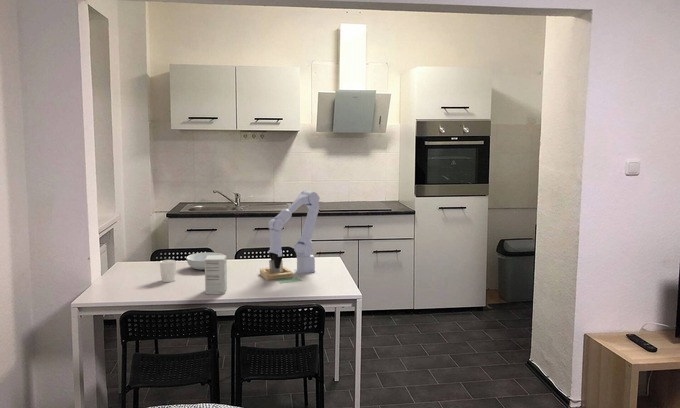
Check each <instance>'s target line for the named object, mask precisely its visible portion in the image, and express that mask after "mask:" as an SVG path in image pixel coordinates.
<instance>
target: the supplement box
mask: <svg viewBox="0 0 680 408" xmlns="http://www.w3.org/2000/svg"><path fill="white" fill-rule="evenodd" d="M227 267H228V266H227V255H225V254H223V255H208V256H207V257H206V259H205V270H204V285H205V287H204V288H205V295H225V294H226V292H227V290H228V274H227V273H228V272H227V271H228V270H227Z"/></svg>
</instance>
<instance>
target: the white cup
mask: <svg viewBox="0 0 680 408" xmlns="http://www.w3.org/2000/svg"><path fill="white" fill-rule="evenodd" d="M176 265H177V264H176V260H175V259H164V260H160V261H159V270H160V276H161V279H160V280H161V282H162V283H171V282H174V281H176V267H177V266H176Z"/></svg>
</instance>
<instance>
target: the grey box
mask: <svg viewBox="0 0 680 408" xmlns="http://www.w3.org/2000/svg"><path fill="white" fill-rule="evenodd" d="M268 265H269V267H268V268H270V272H271V273H277V272H283V267H284V265H283V259H282V260H281V264H280V268H277V269H276V268H275V263H274V260H271V259H270V260H268Z"/></svg>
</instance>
